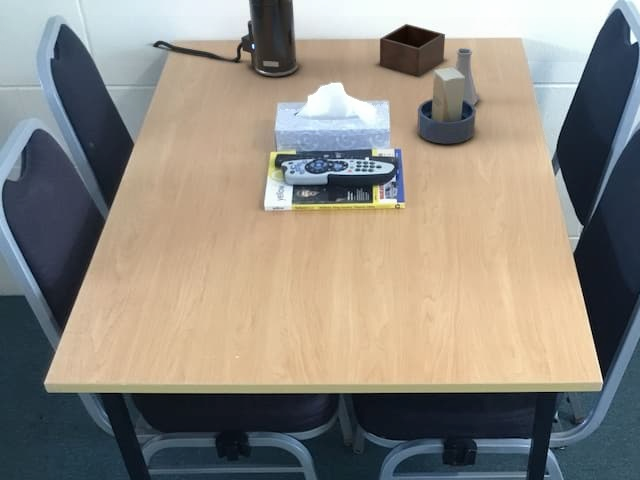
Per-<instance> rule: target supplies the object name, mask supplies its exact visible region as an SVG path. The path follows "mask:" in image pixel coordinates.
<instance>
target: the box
mask: <svg viewBox="0 0 640 480" xmlns="http://www.w3.org/2000/svg"><path fill="white" fill-rule="evenodd" d="M455 68H456V67H454V66H451V67H445V68H439V69H434V73H433V88H432V99H433V101H432V116H431V119H432V120H436V121H441V122H457V121H461V115H462V104H463V93H464V83H465V77H464V76H463V75H462V74H461V73H460V72H459V71H458V70H456V69H455Z"/></svg>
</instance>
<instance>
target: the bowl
mask: <svg viewBox="0 0 640 480" xmlns="http://www.w3.org/2000/svg"><path fill="white" fill-rule="evenodd" d="M432 101H433V98H431V99H428V100H425V101H423V102H422V103H420V104H419V106H418V108H417V122H416V124H417V125H416V126H417V127H416V130H417V132H418V135H419V136H420V137H422V138H423V139H424V140H427V141H430V142H433V143H436V144H444V145H445V144H446V145H449V144H459V143H461V142H464V141H468V140H469V139H470V138H471V137H473V135H474V133H475V129H476V128H475V127H476V117H477V116H476V115H477V110H476V107H475V105H474V106H473V105H472V104H470V103H469V102H467V101H464V100H463V104H462V115H461V121H457V122H441V121H436V120H432V119H431V116H432Z"/></svg>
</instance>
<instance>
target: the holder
mask: <svg viewBox="0 0 640 480" xmlns="http://www.w3.org/2000/svg"><path fill="white" fill-rule="evenodd" d="M445 39H446V34H445V33H442V32H439V31H435V30H430V29H427V28H424V27H420V26H417V25H412V24H408V23H405V24H403V25H401V26H400V27H398V28H396V29H394V30H393V31H391V32H389V33H388V34H386V35H384V36H382V37H380V38H379V66H382V67H385V68H389V69H392V70H396V71H398V72H401V73H405V74H409V75H412V76H416V77H420V76H421V75H424V73H426V72H428V71H430V70H431V69H432V68H434V67H435V66H437V65H439V64H440V63H443V61H444V59H445V44H446V43H445V42H446V40H445Z"/></svg>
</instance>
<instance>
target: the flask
mask: <svg viewBox="0 0 640 480" xmlns="http://www.w3.org/2000/svg"><path fill="white" fill-rule="evenodd" d="M455 53H456V55H457V57H456V58H457V59H456V64H455V67H454V68H455V69H456V70H458V71H459V72H460V73H461V74H462V75H463V76H464V77H465V83H464V93H463V100H464V101H467V102H469V103H470V104H472V105H473V106H474V107H475V104H476V103H477V102H478V101H479V97H478V94H477V90H476V86H475V83H474V78H473V73H472V68H471V66H472V65H471V56H472V54H473V50H472V49H471V48H470V47H459V48H458V49H456V52H455Z"/></svg>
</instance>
